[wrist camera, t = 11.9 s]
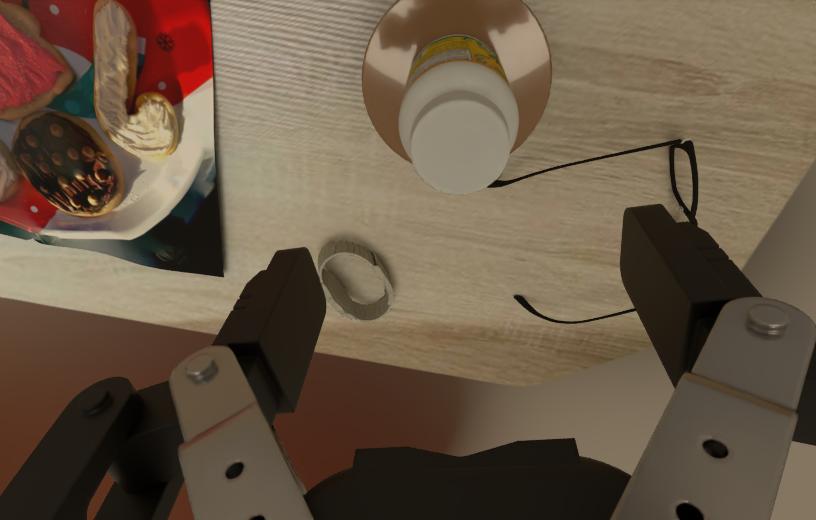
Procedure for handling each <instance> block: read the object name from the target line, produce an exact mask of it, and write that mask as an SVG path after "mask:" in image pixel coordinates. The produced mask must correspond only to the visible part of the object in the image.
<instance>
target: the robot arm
mask: <svg viewBox="0 0 816 520" xmlns="http://www.w3.org/2000/svg"><path fill="white" fill-rule="evenodd" d="M620 271H621V277H622V281H623V284H624V287H625V289H626V291H627V293H628V295H629V297H630V299H631V301H632V303H633V305H634V307H635V309H636V311H637V313H638V315H639V317H640V319H641V321H642V323H643V325H644V327H645V329H646V331H647V333H648V335H649V337H650V340H651V342H652V344H653V346H654V348H655V350H656V351H657V354H658V356H659V358H660V360H661V361H662V364H663V366H664V368H665V370H666V372H667V374H668V376H669V378H670V380H671V382H672V384H673V386H674V388H675V391H674V392H673V395H672V396H671V398H670V401H669V403H668V404H667V407H666V409H665V410H664V412H663V414H662V416H661V419H660V421H659V423H658V425H657V427H656V429H655V431H654V432H653V435H652V436H651V438H650V440H649V442H648V444H647V446H646V449H645V450H644V452H643V455H642V457H641V458H640V460H639V462H638V464H637V466H636V468H635V470H634V472H633V474H632V476H631V475H629V474H628V473H626V472H624V471H622V470H620V469H618V468H616V467H613V466H611V465H609V464H606V463H604V462H601V461H598V460H594V459H591V458H586V457H581V456H579V453H578V449H577V445H576V441H575V438H567V439H548V440H529V441H516V442H513V443H509V444H506V445H502V446H499V447H496V448H493V449H489V450H485V451H482V452H479V453H475V454H472V455H468V456H464V457H457V456H451V455H447V454H442V453H437V452H431V451H426V450H421V449H416V448H411V447H389V448H369V449H356V451H355V457H354V462H353V467H350V468H347V469H345V470H342V471H340V472H338V473H336V474H333V475H332V476H330V477H328V478H326V479H324V480H323V481H321V482H320V483H319V484H317V485H316V486H314V487H313V488H312V489H311V490H309V491H308V492H307V491H306V489H305V487H304V485H303V484H302V482H301V480H300V478H299V476H298V474H297V472H296V470H295V468H294V466H293V464H292V462H291V460H290V458H289V456H288V454H287V452H286V450H285V448H284V446H283V444H282V442H281V440H280V438H279V436H278V434H277V432H276V430H275V428H274V426H273V425H272V424H273V421H274V418H275V415H276V414H279V413H293V412H295V408H296V405H297V402H298V399H299V396H300V393H301V390H302V387H303V383H304V380H305V377H306V374H307V371H308V368H309V364H310V361H311V358H312V355H313V352H314V349H315V346H316V343H317V340H318V336H319V333H320V330H321V327H322V324H323V321H324V318H325V314H326V298H325V293H324V290H323V287H322V285H321V282H320V279H319V276H318V273H317V271H316V268H315V265H314V262H313V260H312V257H311V254H310V252H309V250H308V249H307V248H305V247H301V248H293V249H285V250H278V251H277V252H276V253H275V254H274V256H273V258H272V260H271V262H270V264H269V266H268V268H267V269H266V270H262V271H260V272H259V273H258V274H257V275H256V276H255V277H253V278H252V279H251V280H250V281H249V282H248V283H247V284H246V286H245V288H244V289H243V291H242V293H241V295H240V299H238V300H237V302H236V304H235V305H234V307H233V310H232V311H231V312H230V314H229V316H228V318H227V319H226V321H225V323H224V325H223V326H222V328H221V330H220V332H219V333H218V335H217V337H216V339H215V340H214V342H213V344H212V346H210V347H207V348H203V349H200V350H198V351H196V352H194V353H193V354H191V355H189V356H188V357H186V358H185V359H184V360H183V361H181V362H180V363H179V364H178V365H177V366H176V368H175V369H174V370H173V372H172V374H171V376H170V378H169V380H168V381H166V382H162V383H159V384H156V385H153V386H150V387H147V388H144V389H141V390H138V391H137V390H136V389H135V388H134V386H133V385H132V384H131V382H130V381H129V380H128V379H127V378H124V377H112V378H107V379H104V380H102V381H99V382H97V383H95V384H93V385H91V386H89V387H88V388H86V389H85V390H83V391H82V392H81V393H79V394H78V395H77V396H76V397H75V398H74V399H73V400H72V401H71V402H70V403H69V404H68V405H67V407H66V408H65V409H64V411H63V412H62V413H61V415H60V416H59V417H58V419H57V420H56V421H55V423H54V424H53V425H52V427H51V428H50V429H49V431H48V432H47V433H46V435H45V436H44V438H43V439H42V440H41V442H40V443H39V444H38V446H37V447H36V448H35V450H34V451H33V453H32V454H31V455H30V456H29V458H28V459H27V461H26V462H25V463H24V465H23V466H22V467H21V469H20V470H19V471H18V473H17V474H16V475H15V477H14V478H13V480H12V481H11V482H10V484H9V485H8V486H7V488H6V489H5V490H4V492H3V493H2V494H1V496H0V520H87V509H88V505H89V503H90V501H91V499H92V497H93V495H94V494H95V492H96V490H97V488H98V487H99V485H100V483H101V481H102V480H103V478H104V476H105V474H106V473H109V475H110V476H111V477H112V478H113V479H114V480H115V482H114V484H113V485H112V487H111V489H110V491H109V493H108V495H107V496H106V498H105V500H104V502H103V504H102V505H101V507H100V509H99V511H98V513H97V515H96V516H95V518H94V520H168V517H169V515H170V512H171V510H172V508H173V506H174V503H175V501H176V498H177V496H178V494H179V491H180V489H181V487H182V484H183V482H184V480H185V484H186V488H187V492H188V495H189V500H190V503H191V507H192V511H193V515H194V519H195V520H770V518H771V514H772V511H773V507H774V504H775V500H776V496H777V493H778V489H779V485H780V482H781V478H782V474H783V471H784V467H785V463H786V459H787V456H788V452H789V448H790V445H791V441H795V442H800V443H805V444H810V445H815V446H816V325H815V323H814V322H813V320H812V319H811V318H810V317H809V316H808V315H807V314H805V313H804V312H803V311H801V310H800V309H798V308H796V307H794V306H792V305H789V304H787V303H785V302H782V301H779V300H775V299H770V298H764V297H763V296H762V295H761V294H760V293H759V292H758V291H757V289H755V287H754V286H753V285H752V284H751V282H750V281H749V280H748V279H747V278H746V277H745V276H744V274H743V273H742V272H741V271H740V270H739V268H738V267H737V266H736V265H735V264H734V263H733V261H732V260H729V257H728V256H727V254H726V253H725V252H724V251H723V250H722V249H721V248H720V249H719V245H718V244H717V243H716V242H715V240H714V239H713V238H712V237H711V236H710V235H709V233H708V232H706V231H704V230H702V229H701V228H699V227H697V226H695V225H693V224H691V223H689V222H688V221H687V222H679V223H676V221H675V220H674V219H673V218H672V216H671V215H670V214H669V212H668V211H667V210H666V209H665V207H664V206H663V205H662V204H654V205H646V206H638V207H630V208H626V209H625V212H624V216H623V228H622V241H621V254H620Z"/></svg>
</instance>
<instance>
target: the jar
mask: <svg viewBox="0 0 816 520" xmlns="http://www.w3.org/2000/svg"><path fill="white" fill-rule="evenodd" d="M454 34H461V35H468V36H471V37H474V38H476V39H478V40H480V41H481V42H483V43H484V44H485V45H487V46H488V47H489V48H490V49H491V50H492V51H493V52H494V53H495V54H496V56H497V57H498V59H499V61H500V62H501V65H502V67H503V69H504V72H505V74H506V77H507V79H508V82H509V84H510V87H511V89H512V91H513V94H514V96H515V99H516V102H517V106H518V111H519V127H518V133H517V137H516V140H515V143H514V145H513V147H512V149H511V151H510V154H511V153H512V152H513V151H515V150H516V149H517V148H518V147H519V146H520V145H521V144H522V143H523V142H524V141H525V140H526V139H527V138H528V137H529V135H530V134H531V133H532V131H533V130H534V129H535V127H536V125H537V124H538V122H539V120H540V118H541V116H542V114H543V112H544V110H545V107H546V104H547V101H548V98H549V94H550V88H551V82H552V62H551V54H550V49H549V45H548V41H547V39H546V36H545V33H544V30H543V29H542V27H541V25H540V23H539V21H538V19H537V18H536V16H535V15H534V14H533V12H532V11H531V10H530V8H529V7H528V6H527V5H526V4H525V3H524V2H523V1H522V0H397V1H396V2H395V3H394V4H393V5H392V6H391V7H390V8H389V9H388V11H387V12H386V13H385V14H384V15H383V17H382V18H381V20H380V21H379V23H378V24H377V26H376V28H375V30H374V31H373V33H372V35H371V37H370V40H369V43H368V46H367V48H366V51H365V56H364V61H363V68H362V91H363V97H364V102H365V105H366V109H367V112H368V115H369V117H370V119H371V122H372V124H373V126H374V127H375V129H376V131H377V132H378V134H379V135H380V136H381V138H382V139H383V140H384V142H385V143H386V144H387V145H388V146H389V147H390V148H391V149H392V150H393V151H394V152H396V153H397V154H398V155H400V156H401V157H402V158H404V159H405V160H407V161H409V162H410V163H412V161H411V159H410V158H409V156H408V155H407V153H406V151H405V149H404V147H403V145H402V142H401V138H400V134H399V112H400V107H401V102H402V99H403V94H404V91H405V87H406V82H407V79H408V75H409V72H410V69H411V66H412V64H413V62H414V60H415V59H416V57H417V56H418V54H419V53H420V52H421V51H422V50H423V49H424V48H425V47H426V46H427V45H428V44H430V43H431V42H433V41H435V40H437V39H439V38H441V37H444V36H448V35H454Z"/></svg>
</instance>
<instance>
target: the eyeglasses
mask: <svg viewBox="0 0 816 520" xmlns="http://www.w3.org/2000/svg"><path fill="white" fill-rule="evenodd" d="M683 142H684V143H683ZM672 144H674V145H672ZM668 145H671V147H670V174H671V182H672V189H673V193H674V195H675V197H676V200H677V201H678V203H679V205H676V210H678V213H681V212H682V211H683V212H684V214H685V215H686V216H687V218H688V219H689V222H690V223H691V224H693V225H695V226H697V225H698V223H697V220H696V218H695V215H696V211H697V204H698V171H697V163H696V157H695V151H694V145H693V142H692V140H691V138H687V139H678V140H674V141H669V142H665V143H660V144H655V145H651V146H646V147H642V148H637V149H633V150H628V151H624V152H619V153H614V154H610V155H605V156H601V157H596V158H592V159H587V160H583V161H578V162H574V163H569V164H565V165H561V166H557V167H553V168H549V169H546V170H542V171H539V172H535V173H532V174H529V175H526V176H523V177H520V178H517V179H513V180H508V181H501V180H495V181H494V182H493V183H491V184H490V185H489V186H487V188H495V187H502V186H505V185H509V184H511V183H514V182H517V181H519V180H522V179H525V178H528V177H531V176H534V175H538V174H541V173H544V172H548V171H551V170H555V169H559V168H563V167H567V166H572V165H576V164H581V163H585V162H590V161H594V160H599V159H604V158H609V157H614V156H618V155H623V154H628V153H633V152H638V151H643V150H648V149H653V148H658V147H663V146H668ZM675 148H681V149H683V150H684V151H686V152H687V154H688V156H689V159H690V164H691V170H692V182H693V201H692V207H691V212H690V211H689V210H688V208H687V207H686V206H685V204H684V203H683V201H682V199H681V197H680V195H679V193H678V191H677V188H676V181H675V171H674V149H675ZM679 209H682V210H681V211H680V212H679ZM514 298H515V299H516V300H517V301H518V302H519V303H520V304H521V305H522V306H523V307H524V308H525V309H527V310H528V311H529V312H531V313H532V314H534V315H536V316H538V317H540V318H543V319H545V320H548V321H551V322H556V323H565V324H576V323H584V322H590V321H594V320H599V319H604V318H608V317H612V316H617V315H621V314H625V313H629V312H633V311H636V309H635V308H634V309H630V310H626V311H622V312H618V313H615V314H610V315H606V316H602V317H598V318H594V319H589V320H583V321H575V322H569V321H558V320H554V319H551V318H548V317H546V316H543V315H542V314H540V313H538V312H537V311H536V310H535V309H534V308H533V307H532V306H531V305H530V304H529V303H528V302H527V301H526V300H525V299H524V298H523V297H521V296H514Z"/></svg>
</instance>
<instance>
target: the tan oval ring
mask: <svg viewBox="0 0 816 520" xmlns="http://www.w3.org/2000/svg"><path fill="white" fill-rule="evenodd" d="M341 254H342V255H347V254H348V255H354V256H356V257H359V258H361V259H362V260H364V261H365V262H367V263H368V264H369V265H370V266H371V267H372V269H373V270H374V271H375V273H376V274H377V275H378V277H379V278H380V279H382V281H383V282H384V284H385V287H386V288H385V296H384V297H383V298H382V300H380V301H378V302H376V303H374V304H369V305H364V304H363V305H362V304H359V303H357V302H355V301H352V299H351V298H350V296H349V295H348V293H347V292H346V290H345V288H344V286H343V285H342V284H341V283H340V282H339V281H338V280H337V278H336V277H335V276H334V275H333V274H332V273H331V271H330V272H329V271H327V270H325V269H324V268H323V266H324V265H325V263H326V262H327V261H328V260H330V258H333V257H335V255H336V256H337V255H341ZM318 268H319V279H320V282H321V285H322V287H323V290H324V293H325V297H326V299H327V300H328V302H329V303H330V304H331V305H332V306H333V307H334V308H335V309H336V310H337V311H338V312H339V313H340V314H341V315H342V316H345V317H347V318H349V319H351V320H352V319H353V318H355V320H357V321H360V322H373V321H376V320H379V319H381V318H383V317H384V316H385V315H386V314H387V313H388V312H389V310H390V309H391V307H392V304H393V290H392V287H391V283H390V280H389V276H388V274H387V272H386V270H385V268H384V266H383V265H382V263H381V262H380V260H379V258H378V256H377V255H376V254H375V253H371V254H370V253H369V252H368V251H367V250H366V249H365V248H364V247H362V246H360V245H359V244H357V243H354V242H351V241H345V240H340V241H334V242H331V243H329V244H327V245H326V246H324V247H323V249H322V250H321V251H320V253H319V256H318Z"/></svg>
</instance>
